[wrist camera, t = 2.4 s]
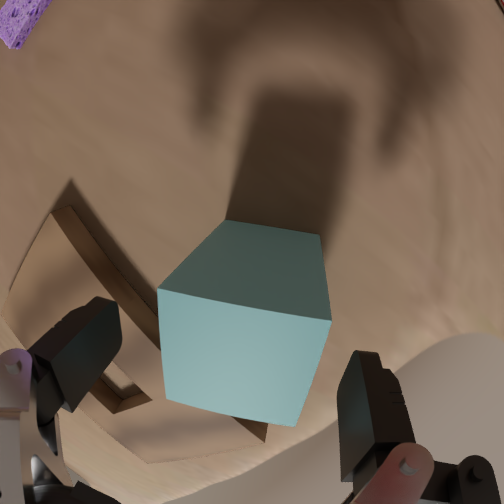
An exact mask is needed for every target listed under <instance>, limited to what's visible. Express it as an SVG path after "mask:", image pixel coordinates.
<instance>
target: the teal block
mask: <svg viewBox="0 0 504 504" xmlns="http://www.w3.org/2000/svg"><path fill="white" fill-rule="evenodd" d="M157 296H158V316H159V331H160V344H161V356H162V366H163V375H164V384H165V393H166V399H168V400H172V401H175V402H178V403H182V404H185V405H189V406H193V407H196V408H200V409H204V410H208V411H212V412H216V413H220V414H225V415H229V416H234V417H239V418H244V419H249V420H254V421H260V422H266V423H272V424H278V425H285V426H292V427H295V426H296V423H297V421H298V418H299V416H300V413H301V410H302V408H303V405H304V403H305V400H306V397H307V395H308V392H309V389H310V386H311V383H312V381H313V378H314V375H315V372H316V369H317V366H318V363H319V360H320V357H321V354H322V351H323V348H324V345H325V342H326V339H327V336H328V332H329V329H330V326H331V322H332V317H331V309H330V301H329V294H328V287H327V280H326V273H325V266H324V260H323V254H322V247H321V241H320V235H318V234H312V233H306V232H300V231H294V230H288V229H282V228H276V227H270V226H263V225H257V224H251V223H244V222H238V221H231V220H224V221H223V222H222V223H221V224H220V225H219V226H218V227H217V228H216V229H215V230H214V231H213V232H212V233H211V234H210V235H209V236H208V237H207V238H206V239H205V240H204V241H203V242H202V243H201V244H200V245H199V246H198V247H197V248H196V249H195V250H194V251H193V252H192V253H191V254H190V255H189V256H188V257H187V258H186V259H185V260H184V261H183V262H182V263H181V264H180V265H179V266H178V267H177V268H176V269H175V270H174V271H173V272H172V273H171V274H170V275H169V276H168V277H167V278H166V279H165V280H164V281H163V283H162V284H161V285H160V286H159V287H158V288H157Z"/></svg>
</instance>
